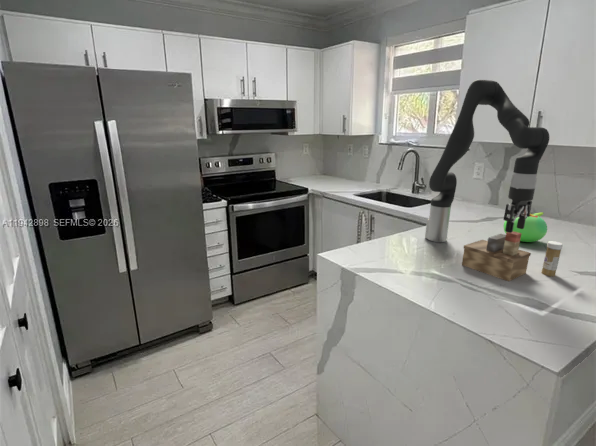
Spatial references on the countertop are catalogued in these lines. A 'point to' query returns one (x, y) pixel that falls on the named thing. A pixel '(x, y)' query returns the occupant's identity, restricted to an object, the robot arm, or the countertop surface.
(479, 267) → the wooden box
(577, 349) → the countertop surface
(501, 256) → the lid
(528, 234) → the green rounded piece
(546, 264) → the sprinkles bottle
